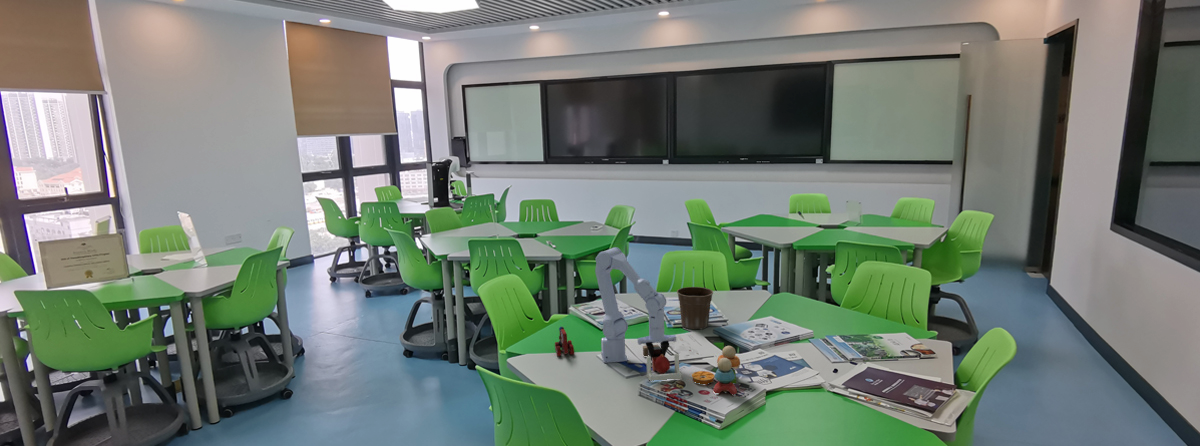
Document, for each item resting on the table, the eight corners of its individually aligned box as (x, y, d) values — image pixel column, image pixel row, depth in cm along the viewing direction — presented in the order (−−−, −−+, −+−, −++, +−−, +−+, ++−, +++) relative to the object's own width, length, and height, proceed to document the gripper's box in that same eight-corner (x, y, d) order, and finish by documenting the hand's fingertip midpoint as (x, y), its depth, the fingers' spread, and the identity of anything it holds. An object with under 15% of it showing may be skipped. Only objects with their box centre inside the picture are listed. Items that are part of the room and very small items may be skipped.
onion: (652, 372, 219) (652, 351, 218) (667, 370, 220) (667, 350, 219) (656, 378, 214) (656, 357, 212) (672, 376, 214) (671, 356, 213)
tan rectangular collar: (644, 357, 233) (644, 348, 233) (643, 355, 236) (642, 345, 235) (659, 356, 234) (659, 346, 234) (658, 354, 237) (658, 344, 236)
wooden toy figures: (690, 375, 216) (690, 342, 214) (738, 374, 214) (738, 342, 212) (695, 397, 198) (694, 362, 196) (747, 397, 197) (747, 361, 195)
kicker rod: (653, 371, 220) (652, 353, 219) (643, 352, 239) (642, 335, 238) (665, 369, 221) (665, 352, 220) (654, 351, 239) (654, 335, 238)
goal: (649, 383, 210) (648, 361, 209) (646, 377, 215) (646, 356, 214) (682, 380, 211) (681, 358, 210) (678, 374, 216) (678, 353, 215)
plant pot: (718, 322, 271) (718, 288, 269) (705, 333, 258) (704, 298, 255) (686, 318, 280) (685, 285, 277) (671, 328, 266) (670, 293, 264)
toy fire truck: (570, 346, 249) (569, 323, 247) (575, 357, 237) (573, 332, 235) (554, 348, 248) (552, 324, 246) (557, 359, 236) (556, 334, 234)
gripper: (639, 331, 216) (640, 366, 219) (678, 328, 218) (678, 363, 220) (636, 325, 223) (637, 359, 225) (673, 322, 225) (674, 356, 227)
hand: (657, 360), depth 223 cm, fingers closed on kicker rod, 3 cm apart
